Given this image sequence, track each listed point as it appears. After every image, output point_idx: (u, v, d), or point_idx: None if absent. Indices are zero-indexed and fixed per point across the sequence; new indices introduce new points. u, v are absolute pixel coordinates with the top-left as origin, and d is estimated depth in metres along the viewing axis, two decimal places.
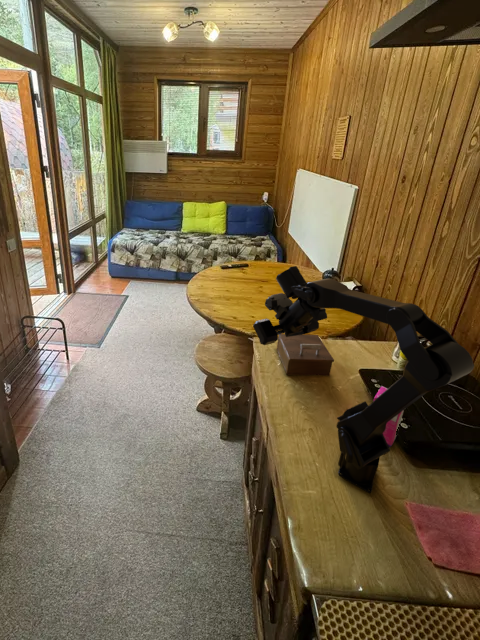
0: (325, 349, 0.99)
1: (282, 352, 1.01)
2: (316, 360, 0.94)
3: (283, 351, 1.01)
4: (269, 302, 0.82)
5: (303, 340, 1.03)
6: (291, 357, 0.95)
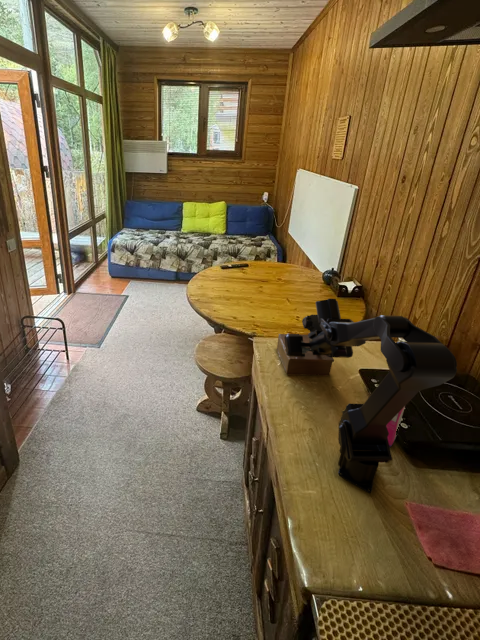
0: None
1: (282, 352, 1.01)
2: (316, 360, 0.94)
3: (283, 351, 1.01)
4: (305, 321, 0.89)
5: (303, 340, 1.03)
6: (291, 357, 0.95)
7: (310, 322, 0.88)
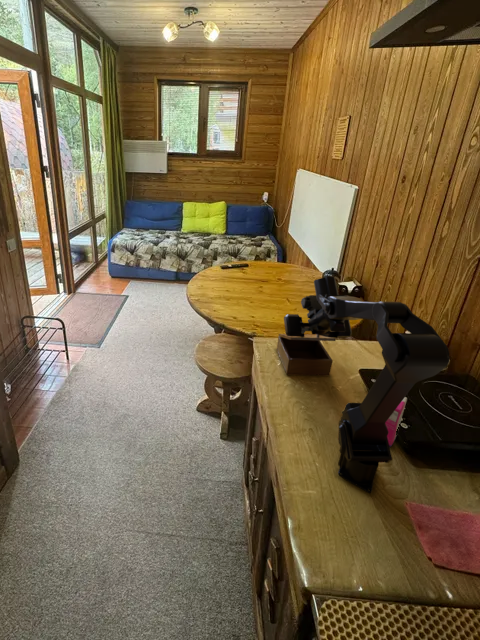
0: None
1: (282, 352, 1.01)
2: (317, 339, 0.94)
3: (283, 351, 1.01)
4: (303, 301, 0.91)
5: None
6: (292, 337, 0.94)
7: (309, 302, 0.90)
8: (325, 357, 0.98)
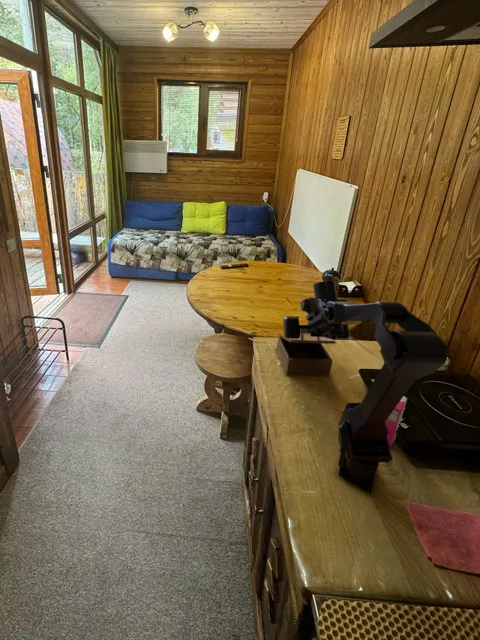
0: (326, 338, 0.99)
1: (282, 352, 1.01)
2: (317, 341, 0.93)
3: (283, 351, 1.01)
4: (303, 304, 0.91)
5: None
6: (292, 339, 0.94)
7: (308, 304, 0.90)
8: (325, 357, 0.98)
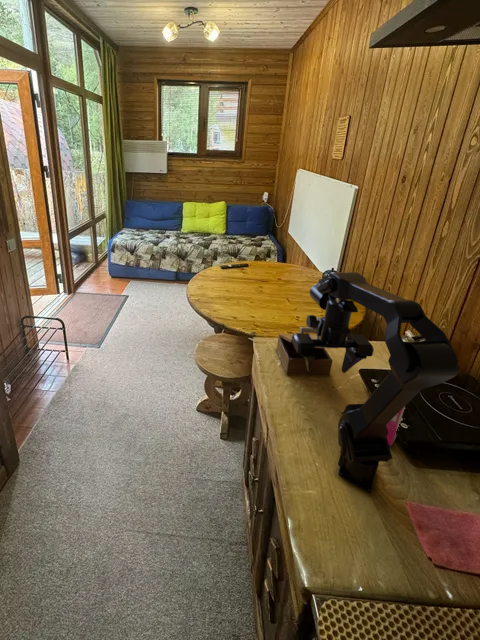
0: None
1: (282, 352, 1.01)
2: None
3: (283, 351, 1.01)
4: (308, 319, 0.83)
5: None
6: None
7: (314, 317, 0.82)
8: (325, 357, 0.98)
